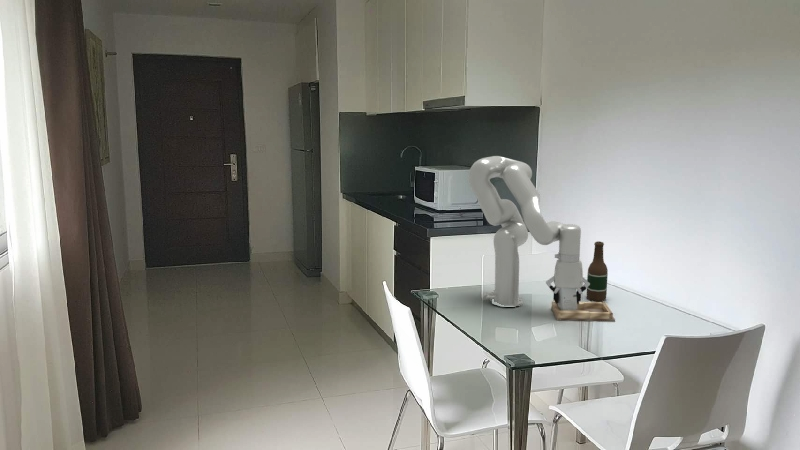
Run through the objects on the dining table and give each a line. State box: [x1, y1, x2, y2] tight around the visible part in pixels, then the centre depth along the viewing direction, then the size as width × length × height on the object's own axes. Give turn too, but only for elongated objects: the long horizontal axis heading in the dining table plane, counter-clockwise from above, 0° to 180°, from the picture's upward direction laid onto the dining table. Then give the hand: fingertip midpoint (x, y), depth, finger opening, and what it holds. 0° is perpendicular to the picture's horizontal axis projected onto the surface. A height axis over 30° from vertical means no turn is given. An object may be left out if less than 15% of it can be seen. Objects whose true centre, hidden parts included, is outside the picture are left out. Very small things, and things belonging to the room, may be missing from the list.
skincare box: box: [558, 288, 577, 311], centre depth 224 cm, size 6×4×12 cm
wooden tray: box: [550, 301, 616, 322], centre depth 225 cm, size 21×13×3 cm, turn 85°
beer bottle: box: [586, 240, 609, 302], centre depth 240 cm, size 8×8×24 cm
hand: (566, 302), depth 225 cm, fingers closed on skincare box, 7 cm apart
